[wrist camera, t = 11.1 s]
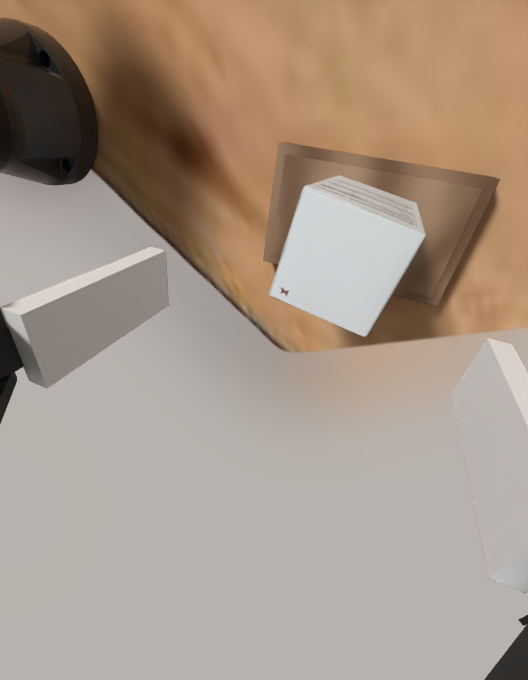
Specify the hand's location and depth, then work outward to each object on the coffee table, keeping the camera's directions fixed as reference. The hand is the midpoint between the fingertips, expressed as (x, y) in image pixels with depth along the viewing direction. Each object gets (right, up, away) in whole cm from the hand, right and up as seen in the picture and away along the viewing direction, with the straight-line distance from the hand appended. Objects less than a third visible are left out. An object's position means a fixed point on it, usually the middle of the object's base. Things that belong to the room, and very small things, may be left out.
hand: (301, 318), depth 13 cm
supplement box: (+7, +10, +16) cm, 20 cm away
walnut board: (+8, +11, +17) cm, 22 cm away
